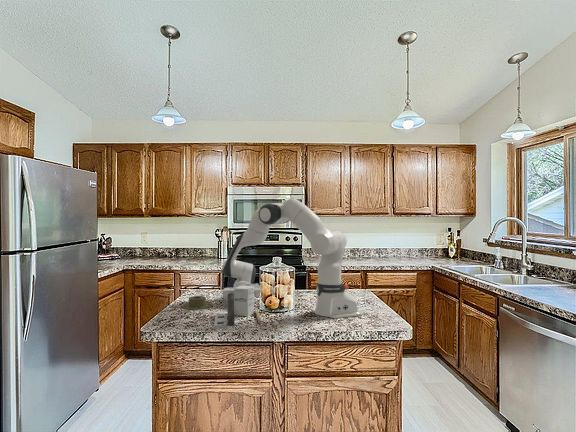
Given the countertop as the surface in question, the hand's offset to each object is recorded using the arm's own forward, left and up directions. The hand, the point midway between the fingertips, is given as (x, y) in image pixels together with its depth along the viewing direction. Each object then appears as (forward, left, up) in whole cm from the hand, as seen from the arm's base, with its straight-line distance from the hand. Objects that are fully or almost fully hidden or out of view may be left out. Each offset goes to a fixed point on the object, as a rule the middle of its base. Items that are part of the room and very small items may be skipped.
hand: (242, 295), depth 177 cm
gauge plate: (+10, +21, -7) cm, 24 cm away
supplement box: (0, +9, -7) cm, 12 cm away
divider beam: (0, +16, -7) cm, 17 cm away
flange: (+23, -10, -7) cm, 26 cm away
